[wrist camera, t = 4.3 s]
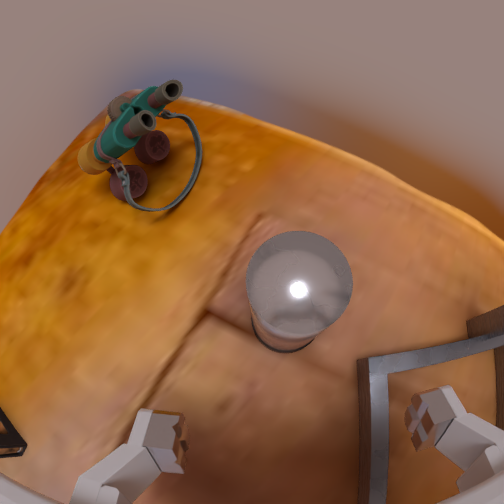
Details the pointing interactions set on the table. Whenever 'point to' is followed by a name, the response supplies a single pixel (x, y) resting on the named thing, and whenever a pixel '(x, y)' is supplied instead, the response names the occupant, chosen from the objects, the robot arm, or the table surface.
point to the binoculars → (136, 142)
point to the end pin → (296, 289)
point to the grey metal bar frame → (377, 405)
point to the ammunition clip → (10, 439)
